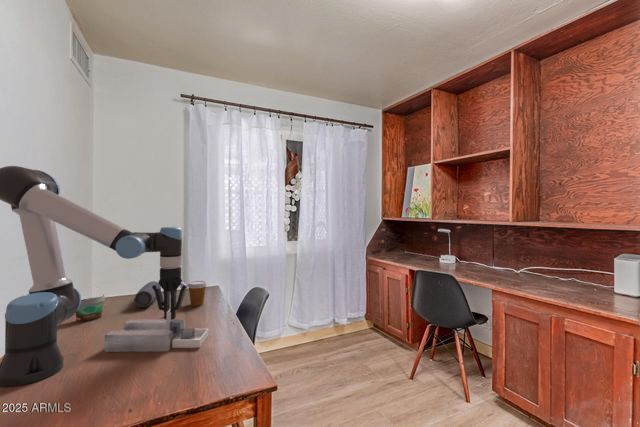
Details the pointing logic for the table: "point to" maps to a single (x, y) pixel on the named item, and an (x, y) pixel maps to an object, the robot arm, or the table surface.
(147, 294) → the bluetooth speaker
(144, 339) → the slot block
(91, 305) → the food container
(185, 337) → the dark grey cube
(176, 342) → the tray
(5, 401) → the table surface
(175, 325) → the dark gray cube
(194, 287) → the disposable coffee cup
